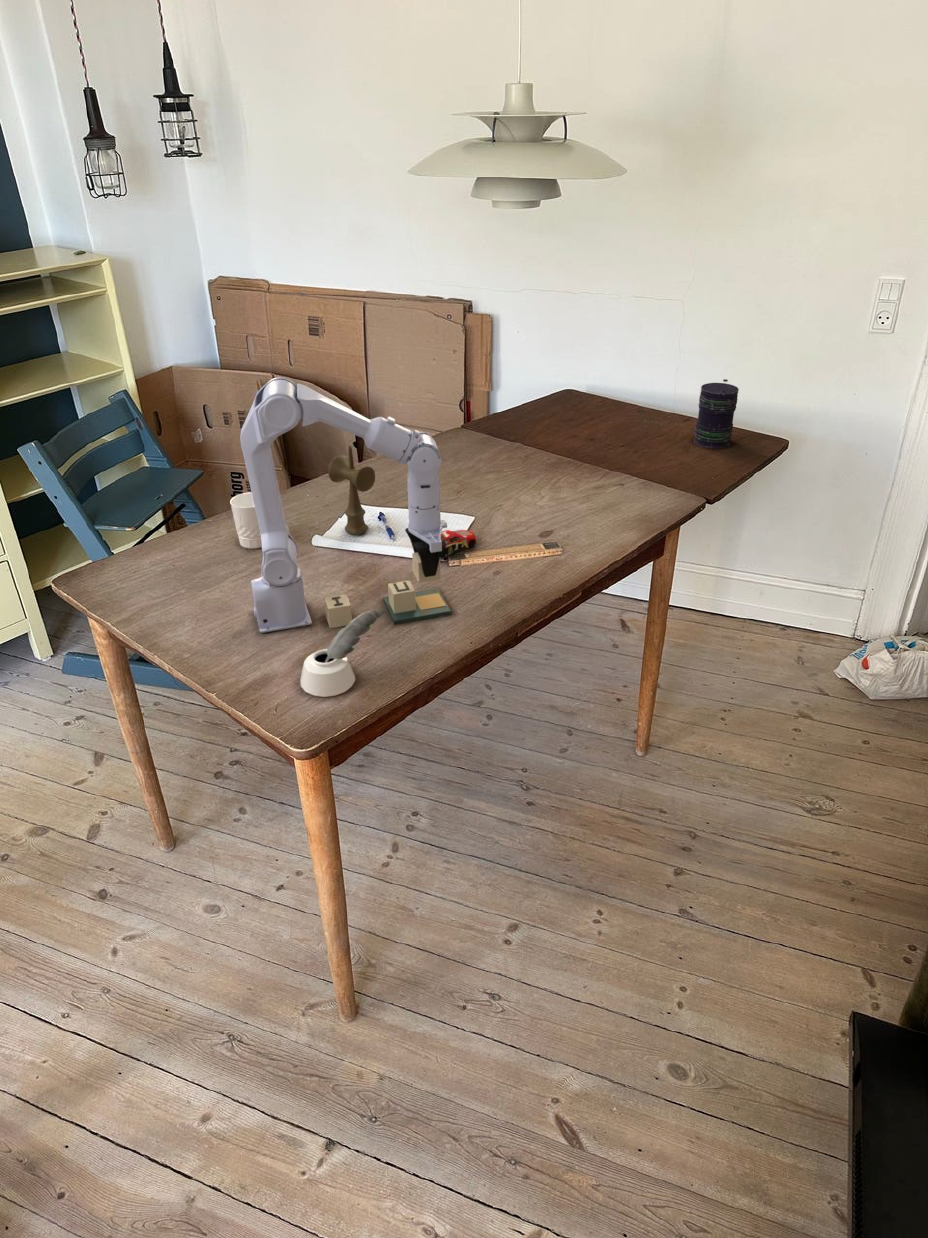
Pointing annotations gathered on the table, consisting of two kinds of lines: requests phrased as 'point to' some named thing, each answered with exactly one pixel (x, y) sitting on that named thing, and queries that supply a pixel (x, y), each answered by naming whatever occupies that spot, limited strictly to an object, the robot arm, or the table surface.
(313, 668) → the inkwell
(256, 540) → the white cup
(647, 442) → the table surface
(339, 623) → the block
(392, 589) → the U block
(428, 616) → the green board
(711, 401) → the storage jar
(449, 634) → the table surface
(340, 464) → the kendama
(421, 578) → the block
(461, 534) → the race car
